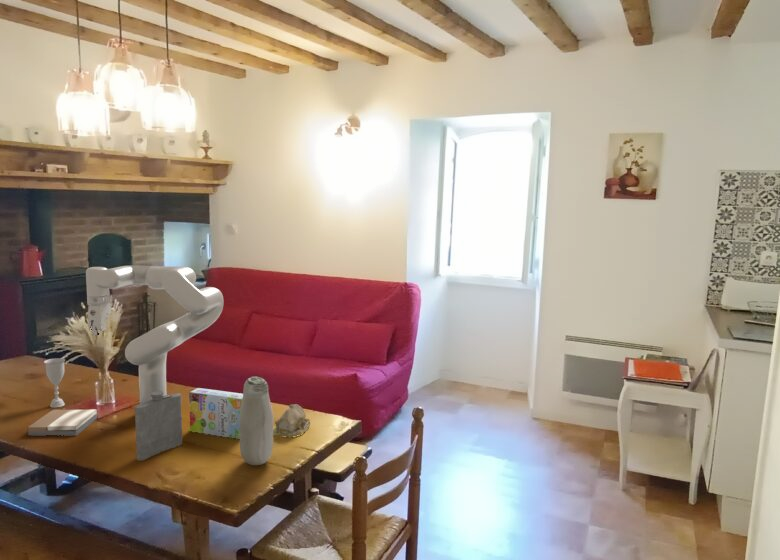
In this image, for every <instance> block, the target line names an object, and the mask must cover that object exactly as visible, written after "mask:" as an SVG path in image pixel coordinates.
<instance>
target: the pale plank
mask: <svg viewBox="0 0 780 560" xmlns="http://www.w3.org/2000/svg"><path fill="white" fill-rule="evenodd" d="M68 410H69V411H68V412H66V413H65V414H64V415H62V416H61V417H60V418H58V419H57V420H55V421H54V422H53V423H51V424H50V425H49V426H47V429H48V431H52V430H77V429H78V428H79V427H80V426H82V425H83V424H84V423H85V422H87V421H88V420H89V419H90V418H91V417H93V416H94V415H95V414H98V412H97V411H98V410H97V409H92V408H91V409H68Z"/></svg>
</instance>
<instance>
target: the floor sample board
mask: <svg viewBox="0 0 780 560" xmlns="http://www.w3.org/2000/svg"><path fill="white" fill-rule="evenodd" d="M69 410H70V409H52V410H50V411H49V412H48V413H46V414H45V415H43V416H42V417H40V418H39V419H37V420H36V421H34V422H33V423H32V424H30V425H29V426H27V434H28V435H29V436H30V435H31V436H43V437H45V436H46V435H58V436H59V435H61V437H66V436H67V437H76V436H78V435H79V434H81V433H82V431H84V430H85V429H86V428H87V427H89V426H90V425H91V424H93V422H95V421H96V420H97V419H98V418H99V414H98V413H96V414H95V415H94V416H93V417H91V418H90V419H89V420H88V421H87V422H85V423H84V424H83V425H82V426H80V427H79V428H78V429H77V430H52V431H48V429H47V426H49V425H50V424H51V423H53V422H54V421H55V420H57V419H58V418H60V417H61V416H62V415H64V414H65V413H66V412H68V411H69ZM97 417H98V418H97ZM28 435H27V436H28ZM63 435H64V436H63ZM58 436H57V437H58ZM46 437H47V436H46Z"/></svg>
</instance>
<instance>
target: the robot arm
mask: <svg viewBox="0 0 780 560" xmlns="http://www.w3.org/2000/svg"><path fill="white" fill-rule="evenodd" d="M85 281H86V282H85V283H86V300H87V302H86V303H87V304H86V305H87V306H88V307H87V308H88V309H87V327H88V330H89V331H90V328H91V326H92V329H91V330H92V331H91V336H94V335H99V333H98V332H97V330H100V331H104V330H106V320H108V315H110V313H112V308H111V294H110V289H111V290H113V289H115V290H116V289H119V288H122V287H126V286H133V285H137V286H140V285H141V286H148V287H149V288H150V289H151V290H164V291H165V292H167V294H168V295H170V297H171V298H172V299H174V301H176V302H177V303H178V304H179V305H180V306H182V308H184V309H185V310H186V311H188V312H187V313H185V314H184V315H182V316H180V317H178V318H176V319H174V320H172V321H167V322H166V323H163V324H161V325H159V326H157V327H155V328H153V329H151V330H148V331H147V332H146V333H144V334H141V335H140V336H138V337H136V338H134V339H133V340H131V341H129V343H128V344H127V345H126V347H125V349H124V356H125V359H126V360H127V361H128V362H129V363H130V364H132V365H136V366H138V386H139V387H138V388H139V389H138V390H139V391H138V392H139V404H141V403H144V402H146V401H149V400H152V396H151V393H152V392H155V391H162V392H163V395H162V396H164V395H168V394H167V356H168V352H170V351H172V350H173V349H175V348H176V347H178V346H180V345H182V344H183V343H184V342H186V341H187V340H189V339H191V338H192V337H194V336H196V335H197V334H199V333H201V332H203V331H205V330H206V329H208V328H209V327H210V326H212V325H213V324H214V323H215V322H216V321H217V320H218V319H219V318H220V315H221V314H222V313H223V309H224V302H225V301H224V296H223V293H222V291H221V290H220V289H218V288H216V287H213V286H206V287H202V288H199V289H198V288H197V287H196V286H194V285H195V283H196V281H197V275H196V272H195V271H194V269H192V268H190V267H188V266H177V265H176V266H174V265H173V266H172V265H171V266H170V265H169V266H166V265H165V266H163V265H162V266H161V265H160V266H159V265H157V266H154V265H153V266H152V265H150V266H149V265H122V266H117V267H113V268H112V267H111V268H107V267H104V266H91V267H88V268H87V269H86V270H85ZM106 331H107V330H106Z"/></svg>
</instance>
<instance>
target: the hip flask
mask: <svg viewBox="0 0 780 560" xmlns="http://www.w3.org/2000/svg"><path fill="white" fill-rule="evenodd" d="M162 395H163V392H162V391H155V392H152V393H151V396H152V400H149V401H146V402H144V403H141V404H140V403H139V404H136V405H135V406H134V417H135V420H134V421H135V446H136V448H135V449H136V460H137V461H138V462H140V461H141V460H142V461H146V460H148V459H149V457H150V458H152V457H154V456H155V454H156V455H158V454H160V452H161V453H163V452H165V450H166V451H168V450H171V449H174V448H177V447H176V446H178V447H180V445H181V446H182V445H183V421H182V420H183V418H182V394H181V393H178V392H177V393H170V394H167V395H164V396H162ZM173 447H174V448H173ZM170 448H171V449H170ZM162 451H163V452H162ZM153 455H154V456H153ZM151 456H152V457H151ZM147 458H148V459H147ZM145 459H146V460H145ZM142 461H141V462H142Z"/></svg>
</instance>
